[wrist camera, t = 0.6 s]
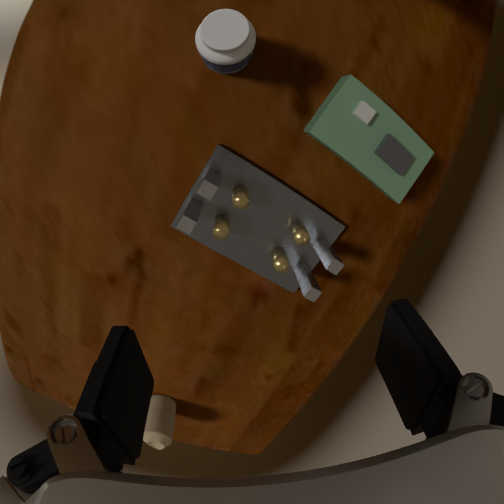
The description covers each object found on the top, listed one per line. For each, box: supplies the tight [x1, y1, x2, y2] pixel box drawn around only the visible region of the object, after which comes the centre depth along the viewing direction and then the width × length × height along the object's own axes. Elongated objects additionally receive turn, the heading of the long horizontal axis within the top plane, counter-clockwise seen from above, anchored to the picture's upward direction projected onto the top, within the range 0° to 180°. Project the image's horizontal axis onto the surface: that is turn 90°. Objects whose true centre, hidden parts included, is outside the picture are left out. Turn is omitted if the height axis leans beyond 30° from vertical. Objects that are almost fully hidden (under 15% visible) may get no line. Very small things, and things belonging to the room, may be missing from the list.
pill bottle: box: [195, 9, 256, 74], centre depth 23 cm, size 5×5×10 cm
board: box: [304, 74, 434, 204], centre depth 26 cm, size 7×12×3 cm, turn 57°
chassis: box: [171, 144, 345, 302], centre depth 33 cm, size 11×18×7 cm, turn 57°
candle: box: [143, 395, 176, 450], centre depth 46 cm, size 6×6×10 cm
